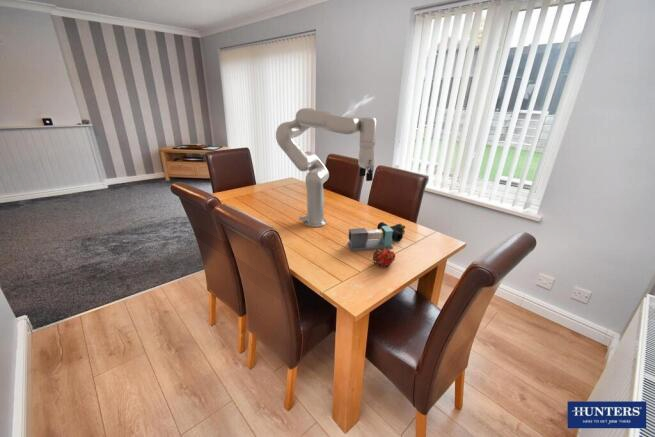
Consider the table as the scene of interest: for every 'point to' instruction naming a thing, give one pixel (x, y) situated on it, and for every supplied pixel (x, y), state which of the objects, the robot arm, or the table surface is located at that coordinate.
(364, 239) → the outer sleeve
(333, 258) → the table surface
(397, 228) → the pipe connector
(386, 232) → the socket block
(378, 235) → the inner tube
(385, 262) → the dragon fruit
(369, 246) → the base board
